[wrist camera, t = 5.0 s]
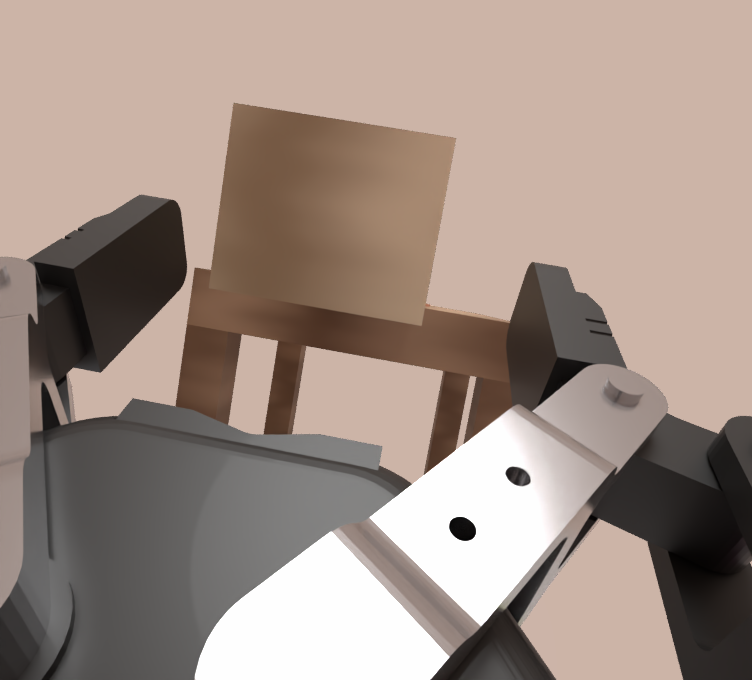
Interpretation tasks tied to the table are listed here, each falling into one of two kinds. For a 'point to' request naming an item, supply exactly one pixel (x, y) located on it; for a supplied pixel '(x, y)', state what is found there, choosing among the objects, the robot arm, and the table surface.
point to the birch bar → (330, 213)
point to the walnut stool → (348, 335)
